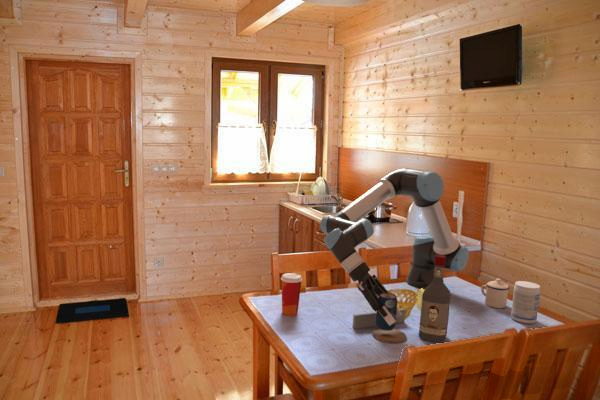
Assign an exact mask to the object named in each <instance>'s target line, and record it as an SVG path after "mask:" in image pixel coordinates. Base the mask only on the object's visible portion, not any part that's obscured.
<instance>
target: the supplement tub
mask: <svg viewBox="0 0 600 400" xmlns="http://www.w3.org/2000/svg"><path fill="white" fill-rule="evenodd" d="M540 295H541V285H539V284H538V283H534V282H531V281H526V280H524V281H523V280H518V281H515V283H514V288H513V295H512V296H513V297H512V303H511V313H510V317H511V319H512V320H514V321H516V322H518V323H521V324H527V325H528V324H536V323H537V319H538V311H539V303H540Z"/></svg>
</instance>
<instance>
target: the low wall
mask: <svg viewBox="0 0 600 400" xmlns="http://www.w3.org/2000/svg"><path fill="white" fill-rule="evenodd" d="M398 310H399V311H400V312H401V314H402V315H401V316H399V317H398V318H396V324H400V323H405V322H406V321H405V320H406V312H407V311H406V309H405V308H398ZM376 313H377V311H376V312H375V311H372V312H364V313H363V312H362V313H356V314H355V313H354V314H353V317H352V329H355V330H356V329H361V328H369V327H377V325H376Z"/></svg>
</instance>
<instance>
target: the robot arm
mask: <svg viewBox="0 0 600 400" xmlns="http://www.w3.org/2000/svg"><path fill="white" fill-rule="evenodd" d="M444 187H445V185H444V180H443V178H442V177H441V174H439V173H437V172H434V171H432V170H422V169H415V168H409V167H405V168H404V167H403V168H398V169H396V170H395V169H394V170H393V171H391V172H389V173H388V174H385V175H384V176H382V177H381V178H380V179H378V180H377V182H376V185H374V186H372V188H371V187H370V189H368V190H367V191H366V192H364V193H363V194H362V195H360V196H359V197H358V198H356V199H355V200H353V201H352V202H351V203H349V204H348V205H346V206H344V208H343V209H341V210H339V211H338V212H337V213H335V214H334V215H329V214H328V215H324V216H323V217H322V218H321V220H320V224H319V228H320V230H321V232H322V233H323V234H326V236H324V237H323V242H324V243H325V246H326V247H327V248H328V251H330V252H331V254H332V255H333V256H334V257H335V259H336V260H337V261H338V263H339V264H340V265H341V268H342V269H344V271H345V272H346V273H348V276H349V278H351V280H352V282H354V283H355V282H358V284H359V285H358V286H357V289H358V290H359V292H360V293H361V294H362V295H363V298H365V300H366V302H367V303H368V304H369V306H370V307H371V309H372V310H373V312H377V310H378V311H379V313H380V314H381V315H382V317H383V318H384V319H385V321H386V322H387V323H388V324H389V326H390V325H391V324H393V323H394V322H396V321H395V319H394V318H393V317H392V315H391V314H390V313H389V311H388V310H387V309H386V307H385V306H382V304H381V302H380V300H379V298H378V297H379V296H380V294H381V293H390V292H389V291H388V290H387V289H386V287H385V286H384V285H383V284H382V282H381V281H380V280H379V279H378V277H377V275H376V274H372V275H371V274H370V273H369V272H370V270H371V268H370V267H369V265H368V264H367V263H366V262H365V261H364V259H363V257H362V256H361V255H360V253H359V252H358V251H357V250H356V248H357V246H359V245H361V244H363V243H364V242H365V241H367V240H368V239H369V238H371V237H372V236H373V234H374V232H375V230H374V225H373V223H371V221H370V220H369V219H367V218H364V217H366V216H367V215H368V214H369V213H371V212H372V211H373V210H375V209H376V208H378V207H379V206H380V205H381V204H383V203H384V202H386V201H387V200H392V199H394V198H396V197H397V196H405V197H410V198H411V199H412V201H413V203H414V205H415V206H416V207H418V208H420V211H421V213H422V215H423V218H424V221H425V223H426V226H427V229H428V230H429V233H430V234H431V235H430V234H425V235H418V236H416V237H414V240H413V244H412V258H411V267H410V269H409V270H408V273H407V276H406V283H407V284H408V285H410V286H412V287H416V288H421V287H424V288H423V289H425V288H426V287H427V286H428V285H429V284H430V283H431V282H433V279H434V271H435V264H434V262H435V255H444V256H446V261H445V266H444V270H447V271H450V272H456V273H458V272H461V271H462V270H464V269H465V267H466V266H467V263H468V260H469V256H470V252H469V249H468V248H467V247H465V246H462V245H461V243H460V240H459V239H458V238H457V236H454V235H453V232H452V230H451V227H450V224H449V221H448V218H447V217H446V214H445V210H444V208H443V206H442V203H441V201H440V200H441V199H442V196H443V195H444V191H445V189H444ZM398 309H399V308H398V307H397V312H396V318H398V317H399V316H401V315H402V314H401V312H400V311H399V310H398Z"/></svg>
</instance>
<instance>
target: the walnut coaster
mask: <svg viewBox="0 0 600 400" xmlns="http://www.w3.org/2000/svg"><path fill="white" fill-rule="evenodd" d="M371 333H372V337H373V338H374V339H375V340H378V341H379V340H380V341H379V342H382V341H383V342H382V343H386V342H388V343H387V344H399V343H400V342H401V343H404V342H406V340H407V334H406V333H405V332H403V331H401V330H399V329H397V328H393V330H390V331H385V330H381V329H379V328H378V327H377V328H375V329H373V330H372V332H371ZM403 341H404V342H403Z"/></svg>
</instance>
